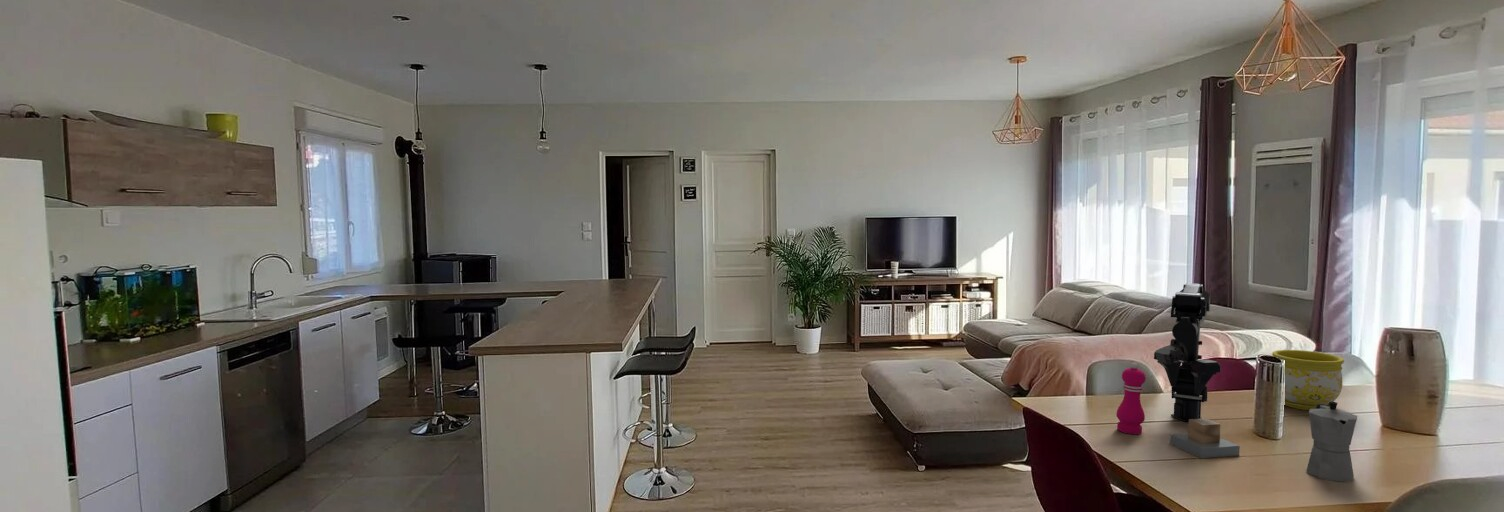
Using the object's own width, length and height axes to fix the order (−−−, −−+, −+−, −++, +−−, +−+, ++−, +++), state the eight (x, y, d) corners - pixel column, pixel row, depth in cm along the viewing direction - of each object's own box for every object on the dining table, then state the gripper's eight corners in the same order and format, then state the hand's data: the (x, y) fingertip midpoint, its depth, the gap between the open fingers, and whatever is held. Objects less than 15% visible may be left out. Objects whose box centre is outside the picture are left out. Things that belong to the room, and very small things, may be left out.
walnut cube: (1204, 436, 189) (1205, 418, 189) (1219, 442, 184) (1220, 424, 184) (1188, 437, 188) (1188, 419, 188) (1202, 443, 183) (1203, 425, 183)
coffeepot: (1366, 488, 160) (1370, 411, 159) (1316, 482, 164) (1319, 407, 162) (1338, 464, 174) (1342, 394, 173) (1292, 460, 178) (1296, 390, 177)
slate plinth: (1205, 441, 192) (1205, 432, 192) (1239, 455, 182) (1239, 445, 181) (1169, 443, 191) (1170, 434, 191) (1201, 458, 180) (1202, 448, 180)
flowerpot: (1357, 413, 216) (1359, 361, 214) (1298, 414, 216) (1300, 361, 215) (1311, 397, 234) (1313, 349, 232) (1256, 398, 234) (1259, 349, 233)
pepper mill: (1139, 428, 204) (1145, 361, 202) (1146, 436, 197) (1152, 367, 195) (1112, 425, 206) (1117, 358, 204) (1118, 433, 199) (1124, 364, 197)
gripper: (1138, 331, 207) (1136, 383, 208) (1187, 344, 188) (1185, 400, 190) (1171, 330, 209) (1170, 381, 210) (1223, 342, 190) (1221, 398, 191)
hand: (1184, 390), depth 200 cm, fingers open, 9 cm apart
